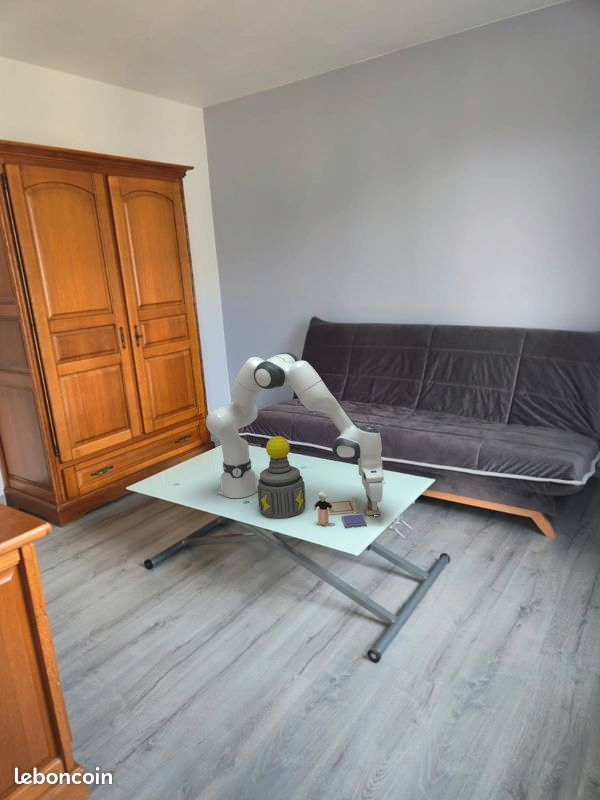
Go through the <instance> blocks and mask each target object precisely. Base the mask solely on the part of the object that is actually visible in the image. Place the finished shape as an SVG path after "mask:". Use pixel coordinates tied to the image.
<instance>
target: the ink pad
mask: <svg viewBox="0 0 600 800" xmlns="http://www.w3.org/2000/svg"><path fill="white" fill-rule="evenodd" d="M341 521H342V524H343V527H344V529H352V527H354V528H362V527H361V526H364V527H367V526H368V523H367V521H366V518H365V517H364V514H362V513H361V514H359V513H358V514H350V515H342V516H341Z"/></svg>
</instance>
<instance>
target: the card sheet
mask: <svg viewBox="0 0 600 800" xmlns="http://www.w3.org/2000/svg"><path fill="white" fill-rule="evenodd" d="M327 502H329V503H330V504H331V505H332V507H333V509H334V511H333V512H332V511H331V509H330V508H328V507H327V509H328V516H334V515H345V514H355V513H354V512H357V513H359V511H358V508H357V505H356V504H355V501H354V499H353V498H352V499H351V498H350V499H338V500H328V501H327Z"/></svg>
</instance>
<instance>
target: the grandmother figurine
mask: <svg viewBox="0 0 600 800" xmlns="http://www.w3.org/2000/svg"><path fill="white" fill-rule="evenodd" d="M317 495H318V501H316V503H314V507H313V511H316V510H317V512H318V514H317V515H318V517H317V522H316V525H317V526H322V525H323V526H324V527H328V526H329V525H330V523H329V515H328V509H327V507H328V508H330V509H331V511H332V512H333V511H334V509H333V507H332V505H331V504H330V503H329V502H327V501H326V499H328V494H327V493H326V492H324V491H320V492H318V494H317ZM317 508H318V509H317Z"/></svg>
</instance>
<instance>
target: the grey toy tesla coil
mask: <svg viewBox="0 0 600 800" xmlns="http://www.w3.org/2000/svg"><path fill="white" fill-rule="evenodd" d="M265 448H266V449H265V450H266V453H267V456H269V463H268V467H267V468H265V469H263V470H261V472H260V474H259V477H260V478H259V479H257V481H258V486H257V490H258V492H257V500H258V507H259V510H260V513H262V515H264V516H266V517H268V518H271V519H287V518H292V517H296V516H297V514H298V515H299V514H300V513H302V512H303V511H304V509H305V507H306V490H305V481H304V479H303V476H302V475H301V472H300V471H301V470H300V469H299V468H298V467H296V466H294V465H293V466H292V465H291V464H290V462H289V458H288V455H289V453H290V449H291V448H290V443H289V441H288V440H287V439H286V438H285V437H284V436H281V435H276V436H275V435H274V436H273V437H271V438H269V440H268V441H267V443H266V444H265Z"/></svg>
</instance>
